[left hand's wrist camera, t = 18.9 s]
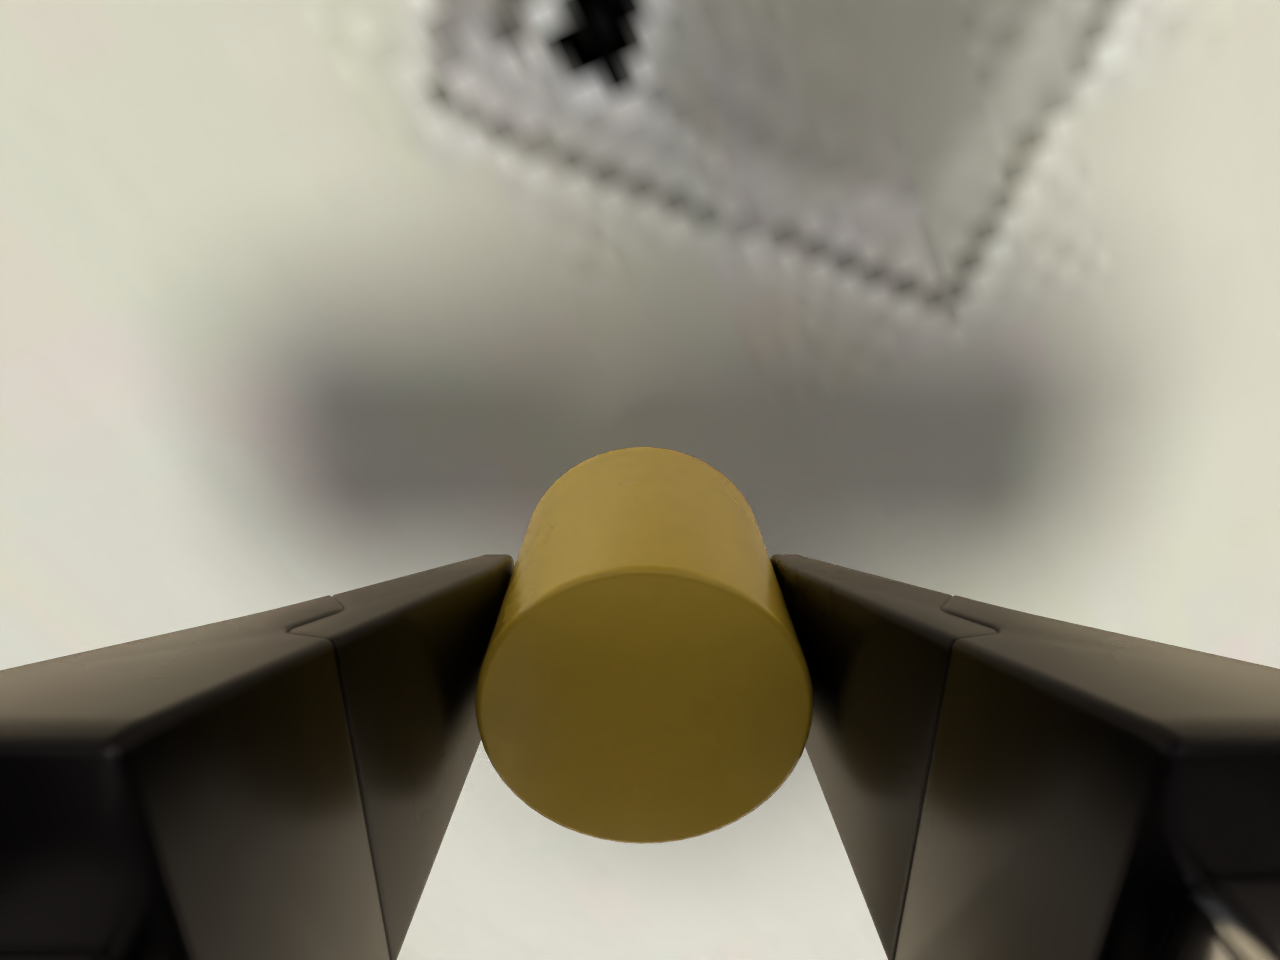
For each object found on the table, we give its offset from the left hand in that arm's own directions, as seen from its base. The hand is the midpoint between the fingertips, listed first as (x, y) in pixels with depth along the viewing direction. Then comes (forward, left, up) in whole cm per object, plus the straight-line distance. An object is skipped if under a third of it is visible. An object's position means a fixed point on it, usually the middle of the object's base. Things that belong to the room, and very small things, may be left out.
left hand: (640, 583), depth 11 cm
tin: (0, 0, -1) cm, 1 cm away
